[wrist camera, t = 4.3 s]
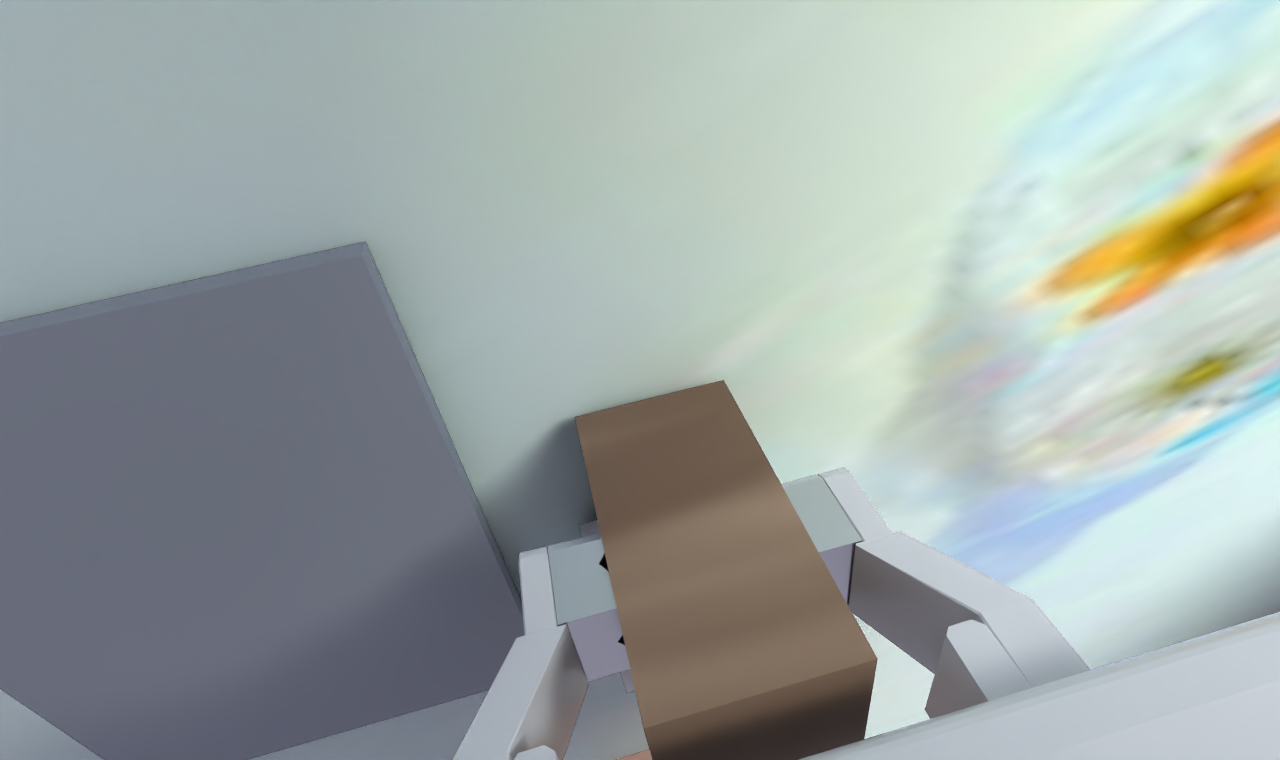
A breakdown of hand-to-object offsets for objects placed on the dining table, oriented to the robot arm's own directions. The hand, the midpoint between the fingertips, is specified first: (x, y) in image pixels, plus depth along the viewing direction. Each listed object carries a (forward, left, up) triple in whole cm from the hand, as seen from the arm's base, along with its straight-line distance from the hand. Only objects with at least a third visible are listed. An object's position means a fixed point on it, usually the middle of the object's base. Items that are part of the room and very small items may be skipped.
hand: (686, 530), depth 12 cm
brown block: (+3, 0, -2) cm, 4 cm away
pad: (0, -9, -2) cm, 9 cm away
